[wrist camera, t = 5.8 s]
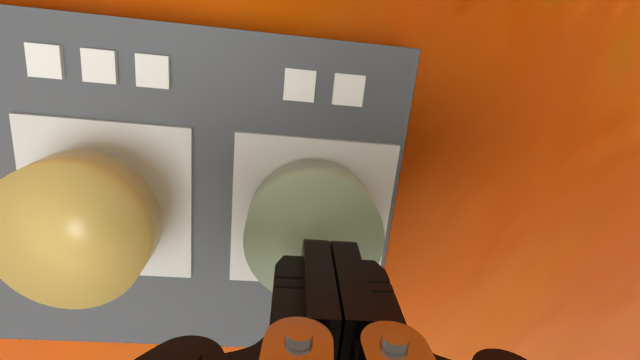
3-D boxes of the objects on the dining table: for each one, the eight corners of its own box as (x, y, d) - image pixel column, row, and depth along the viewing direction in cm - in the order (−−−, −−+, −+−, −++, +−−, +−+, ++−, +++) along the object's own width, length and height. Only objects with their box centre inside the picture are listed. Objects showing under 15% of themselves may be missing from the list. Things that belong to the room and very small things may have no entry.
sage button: (383, 165, 14) (394, 181, 12) (365, 279, 15) (373, 306, 14) (250, 155, 13) (245, 169, 12) (245, 273, 15) (239, 299, 13)
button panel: (401, 47, 16) (422, 49, 13) (360, 313, 20) (370, 354, 17) (-182, -15, 14) (-289, -27, 11) (-103, 293, 18) (-169, 336, 15)
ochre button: (161, 155, 12) (143, 171, 11) (163, 282, 14) (148, 312, 12) (4, 143, 12) (-37, 158, 10) (23, 275, 13) (-11, 305, 12)
